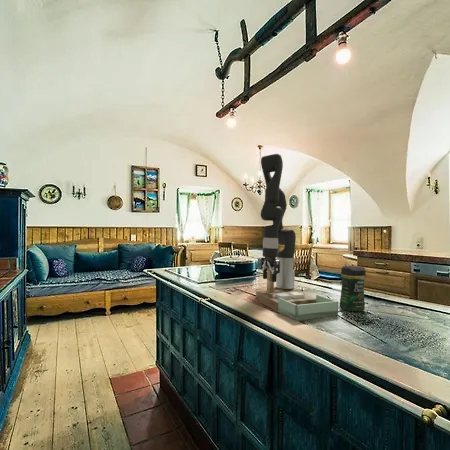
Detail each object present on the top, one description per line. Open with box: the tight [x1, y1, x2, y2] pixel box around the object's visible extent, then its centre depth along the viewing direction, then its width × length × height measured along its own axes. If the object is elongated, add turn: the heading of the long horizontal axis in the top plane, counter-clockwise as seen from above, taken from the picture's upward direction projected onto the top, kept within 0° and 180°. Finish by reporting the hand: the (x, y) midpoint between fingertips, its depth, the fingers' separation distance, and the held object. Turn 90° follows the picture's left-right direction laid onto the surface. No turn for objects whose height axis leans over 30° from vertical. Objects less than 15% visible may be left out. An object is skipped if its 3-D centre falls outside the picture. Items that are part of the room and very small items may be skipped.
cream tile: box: [288, 291, 306, 299], centre depth 131 cm, size 5×5×2 cm
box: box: [277, 294, 339, 321], centre depth 118 cm, size 20×12×6 cm, turn 113°
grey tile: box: [275, 293, 291, 300], centre depth 128 cm, size 5×5×2 cm
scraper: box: [255, 268, 285, 299], centre depth 144 cm, size 14×3×14 cm, turn 113°
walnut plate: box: [257, 290, 316, 312], centre depth 131 cm, size 20×16×4 cm
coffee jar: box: [339, 265, 367, 312], centre depth 125 cm, size 10×8×19 cm
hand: (269, 280), depth 144 cm, fingers open, 8 cm apart
